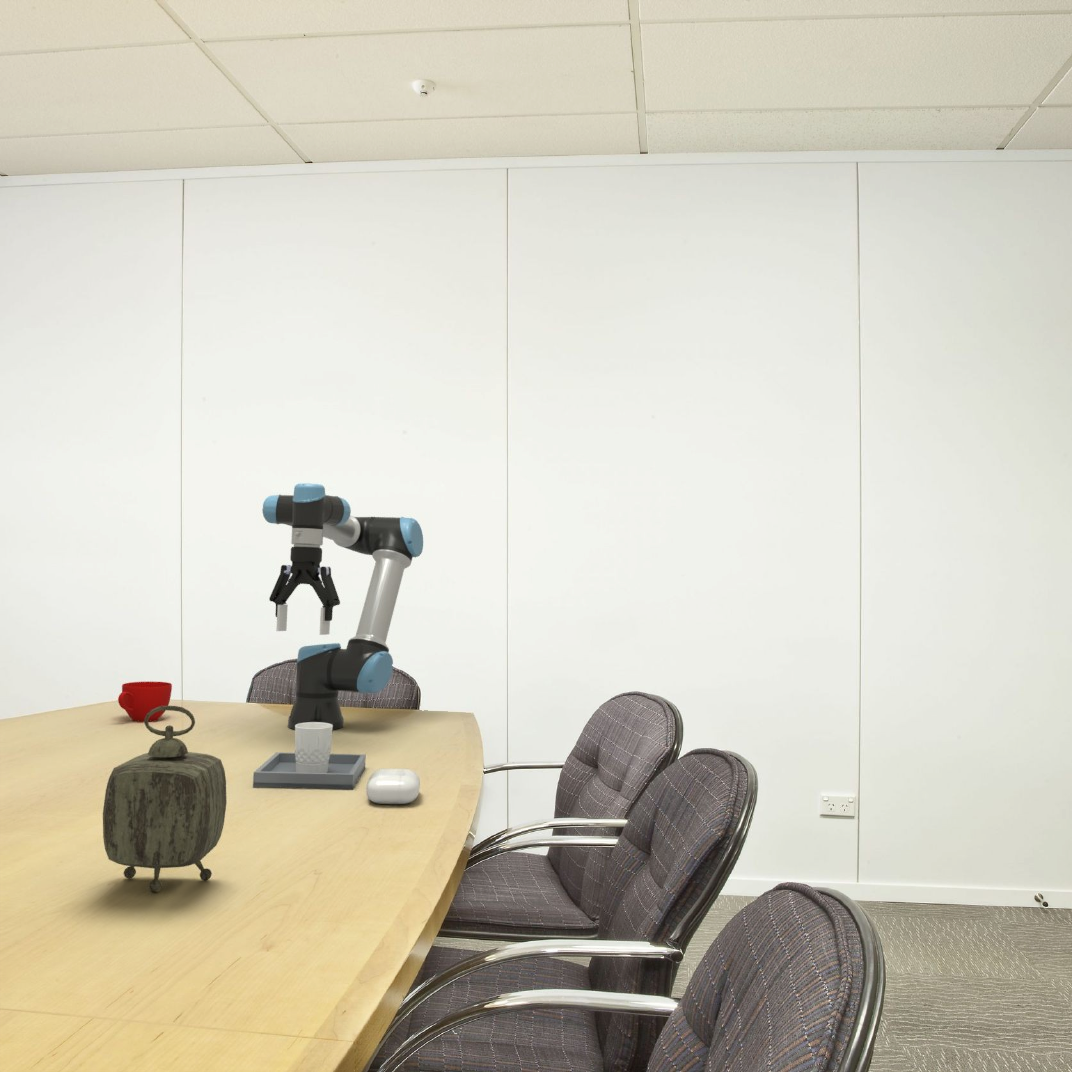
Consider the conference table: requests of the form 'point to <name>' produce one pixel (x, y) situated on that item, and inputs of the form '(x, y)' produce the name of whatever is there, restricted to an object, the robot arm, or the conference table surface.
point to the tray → (283, 773)
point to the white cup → (313, 746)
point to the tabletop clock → (164, 806)
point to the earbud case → (393, 786)
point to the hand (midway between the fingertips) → (302, 632)
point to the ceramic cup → (144, 699)
